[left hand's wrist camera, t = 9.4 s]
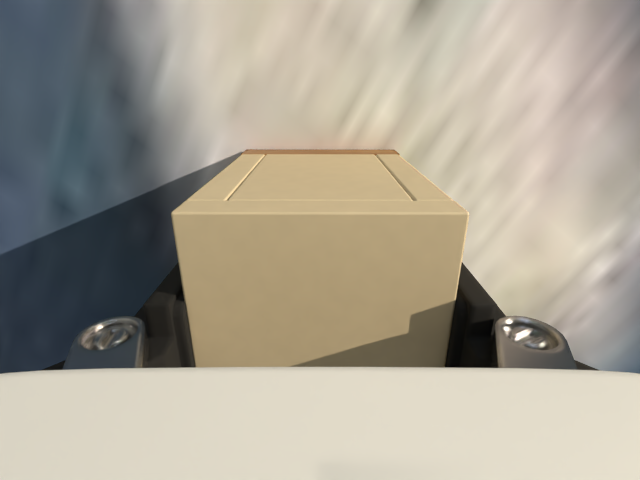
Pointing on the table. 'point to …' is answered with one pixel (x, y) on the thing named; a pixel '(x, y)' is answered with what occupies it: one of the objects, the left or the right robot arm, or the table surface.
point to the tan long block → (320, 262)
